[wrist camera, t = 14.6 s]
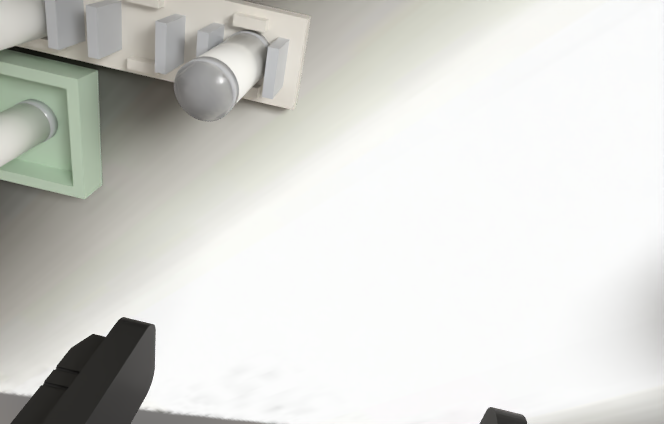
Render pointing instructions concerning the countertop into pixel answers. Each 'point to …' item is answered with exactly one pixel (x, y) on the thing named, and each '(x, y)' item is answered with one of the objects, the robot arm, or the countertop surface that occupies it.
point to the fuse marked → (25, 128)
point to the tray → (73, 123)
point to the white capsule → (221, 75)
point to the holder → (176, 38)
